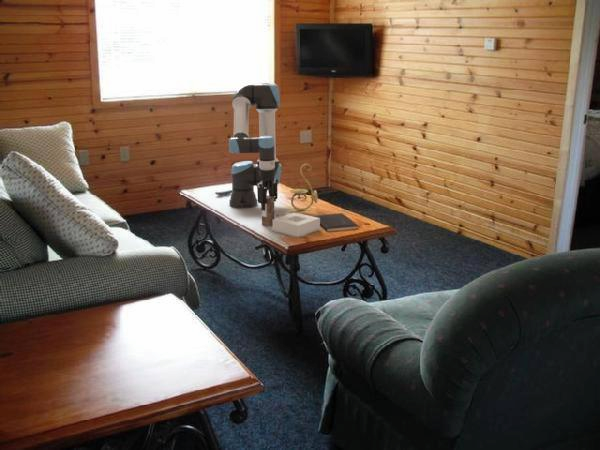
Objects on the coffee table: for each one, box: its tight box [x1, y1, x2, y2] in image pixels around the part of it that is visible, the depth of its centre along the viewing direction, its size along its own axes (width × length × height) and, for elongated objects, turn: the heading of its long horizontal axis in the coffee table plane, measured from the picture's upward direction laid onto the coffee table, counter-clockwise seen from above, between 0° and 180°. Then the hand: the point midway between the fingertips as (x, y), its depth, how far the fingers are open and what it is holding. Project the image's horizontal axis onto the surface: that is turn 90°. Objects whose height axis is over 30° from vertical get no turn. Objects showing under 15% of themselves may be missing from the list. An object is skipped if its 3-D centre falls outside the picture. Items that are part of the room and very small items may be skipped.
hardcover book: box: [312, 212, 359, 233], centre depth 346 cm, size 16×23×2 cm
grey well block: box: [272, 212, 321, 239], centre depth 334 cm, size 16×16×6 cm
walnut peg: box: [261, 194, 275, 227], centre depth 344 cm, size 4×4×14 cm
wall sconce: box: [289, 163, 318, 211], centre depth 368 cm, size 14×10×25 cm
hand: (268, 215), depth 345 cm, fingers closed on walnut peg, 4 cm apart
